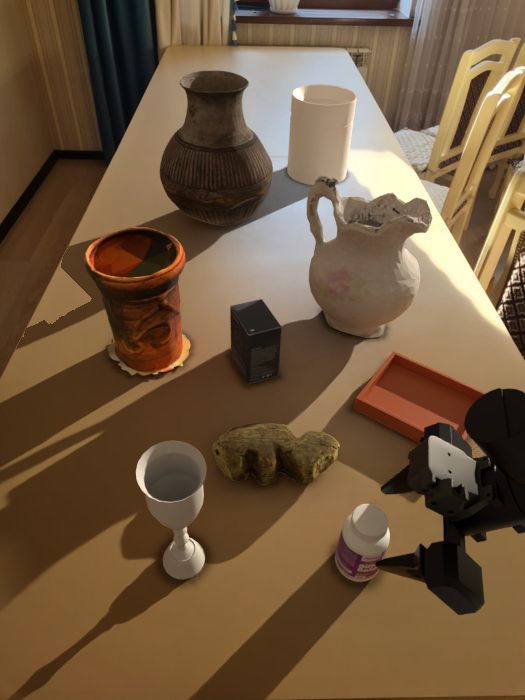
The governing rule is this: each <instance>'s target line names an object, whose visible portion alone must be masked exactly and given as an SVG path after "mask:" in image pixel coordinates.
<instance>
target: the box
mask: <svg viewBox="0 0 525 700" xmlns="http://www.w3.org/2000/svg"><path fill="white" fill-rule="evenodd" d="M229 310H230V311H229V312H230V313H229V314H230V316H229V318H230V319H229V320H230V356H231V358H232V360H233V361H234V363H235V365H236V367H237V369H238V370H239V372H240V374H241V375H242V377H243V379H244V381H245V383H246V384H247V385H251V384H256V383H258V382H262V381H266V380H270V379H274V378H278V377H279V372H280V358H281V345H282V330H283V329H282V328H283V327H282V325H281V324H280V322H279V320H277V318H276V317H275V315H274V314H273V312H272V311H271V310H270V308H269V307H268V305H267V304H266V303H265V301H264V299H262V298H261V299H255V300H251V301H247V302H241V303H238V304H233V305H230V306H229Z"/></svg>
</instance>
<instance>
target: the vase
mask: <svg viewBox="0 0 525 700" xmlns="http://www.w3.org/2000/svg"><path fill="white" fill-rule="evenodd" d="M249 85H250V82H249V80H248V79H247V78H246V77H245V76H242V75H240V74H238V73H235V72H233V71H226V70H198V71H193V72H190V73H188V74H185V75H184V76H183V77H181V78H180V80H179V86H180V87H181V88H182V89H183V90H184V91H185V94H186V103H187V105H186V114H185V118H184V122H183V124H182V126H181V127H180V128H178V129H176V131H175V132H174V133H173V135H172V136H171V137H170V139H169V141H168V142H167V144H166V146H165V148H164V150H163V153H162V155H161V159H160V165H159V179H160V183H161V185H162V188H163V190H164V192H165V194H166V196H167V197H168V199H169V200H170V201H171V202H172V204H174V205H175V206H176V207H177V208H178V209H179V210H180V211H181V212H182V213H184V214H185V215H186V216H188V217H190V218H191V219H194V220H196V221H200V222H202V223H206V224H209V225H213V226H219V227H220V226H222V227H227V226H228V227H229V226H233V225H236V224H238V223H240V222H243V221H244V220H246V219H249V218H250V217H251V216H252V215H253V214H255V213H256V211H257V210H259V208H260V207H261V206H262V205H263V203H264V201H266V198H267V196H268V195H269V192H270V190H271V187H272V182H273V179H274V178H273V177H274V167H273V162H272V159H271V156H270V155H269V154H268V152H267V150H266V148H265V146H264V145H263V143H262V141H261V139H260V138H259V136H258V135H257V134H256V133H255V131H254V130H252V129H251V128H250V127H249V126H248V125H247V123H246V119H245V115H244V110H243V97H244V92H245V90H246V89H247V88H248V87H249Z"/></svg>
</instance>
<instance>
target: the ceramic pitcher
mask: <svg viewBox="0 0 525 700" xmlns="http://www.w3.org/2000/svg"><path fill="white" fill-rule="evenodd" d="M337 184H339V183H338V179H335V178H333V179H331V178H328V177H325V176H324V177H323V176H322V177H321V176H320V177H319V178H318V179H317V180H315V184H314V185H311V188H310V189H309V191H308V193H307V199H306V219H307V221H308V224H309V231H310V233H311V234H312V236H313V238H314V240H315V245H314V250H313V255H312V257H311V259H310V264H309V268H308V270H309V271H308V285H309V290H310V293H311V295H312V297H313V298H314V301H315V302H316V304H317V305H318V306H319V308H321V309H322V311H323V315H324V318H325V321H326V322H327V324H328V326H329V327H331V328H332V329H334V330H338V331H340V332H342V333H345V334H350V335H352V336H356V337H361V338H364V339H373V338H381V337H382V336H383V335H384V334H385V328H386V325H387V324H389V323H391V322H393V321H394V320H396V319H398V318H399V317H401V316H402V315H403V314H404V313H405V312H406V311H407V310H408V309H409V308H410V307H411V305H412V304H413V302H414V301H415V299H416V297H417V294H418V291H419V287H420V284H421V269H420V265H419V263H418V260H417V258H415V257H414V255H413V254H412V253H411V252H410V251H409V250H408V249H407V248H406V247H405V245H406V241H407V239H408V238H410V237H412V236H413V235H415V234H426V233H427V232H428V231H429V229H430V227H431V226H432V221H433V214H432V211H431V207H430V206H429V204H428V200H426V199H424V198H421V197H414V198H412V199H411V200H408V201H407V202H405V201H403V200H402V199H400V198H399V197H398V196H397V195H396V194H395V193H394V192H387V193H385V194H382V195H379V196H377V197H375V198H373V199H371V200H368V199H366V198H364V197H361V196H346V197H345V196H342V195H341V194H340V193H339V190H338V189H337V187H336V186H337ZM323 197H324V198H325V199H327V200H329V201H330V202H331V204H332V207H333V217H334V221H335V225H336V237H334V238H332V239H330V240H326V239H325V235H324V227H323V224H322V222H321V219H320V217H319V213H318V209H319V202H320V199H321V198H323Z"/></svg>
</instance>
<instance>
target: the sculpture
mask: <svg viewBox="0 0 525 700" xmlns="http://www.w3.org/2000/svg"><path fill="white" fill-rule="evenodd" d="M340 445H341V444H340V443H339V441H338V440H336V438H335V437H334V436H332V435H330V434H328V433H326V432H323V431H317V430H309V431H307V432H305V433H303V434H302V435H301V436H300V437H297V436H296V435H295V434H293V432H292V431H291V430H290V429H289V427H288V425H287V424H284V423H274V422H252V423H246V424H242V425H236V426H232V427H231V428H229V429H228V431H226V432H224V433H222V434H221V435H220V436H218V439H217V440H215V442H214V443H213V444H212V450H211V451H212V453H213V456H214V459H215V461H216V463H217V466H218V467H219V468H220V470H221V471H222V473H223V475H224V477H225V478H226V479H229V480H231V481H232V482H239V483H241V482H244V481H245V480H247V479H248V477H249V476H250V475H252V476H253V477H254V479H255V481H256V484H258V485H262V486H268V485H271V484H273V483H274V482H275V481H276V480H277V478H278V474H279V473H282V474H283V475H285V476H287V477H288V478H290V479H292V480H293V481H295V482H296V483H299V484H312V483H314V482H316V481H317V480H318V478H319V477H320V476H321V475H322V474H323V473H324V472H325V471H327V470H328V468H329V467H330V466H332V464H333V463H334V462H335V461H336V460H337V459H338V456H339V454H338V453H339V450H340V447H341V446H340Z"/></svg>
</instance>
